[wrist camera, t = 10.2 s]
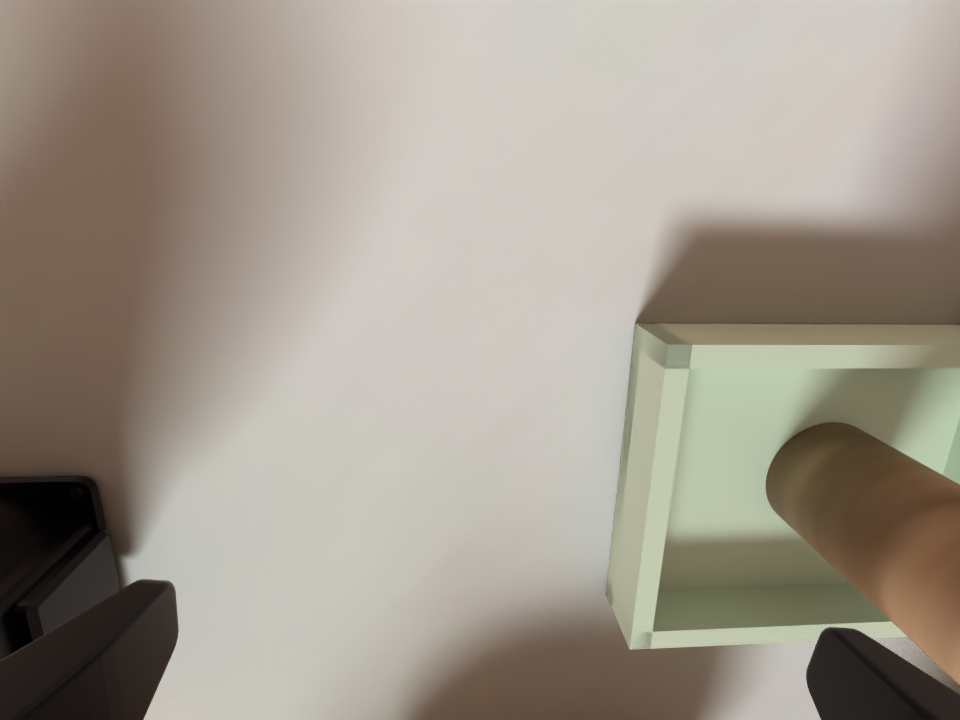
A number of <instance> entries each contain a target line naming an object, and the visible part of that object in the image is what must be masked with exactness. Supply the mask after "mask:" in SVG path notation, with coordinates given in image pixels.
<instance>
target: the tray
mask: <svg viewBox="0 0 960 720" xmlns="http://www.w3.org/2000/svg"><path fill="white" fill-rule="evenodd" d="M829 422H839V423H845V424H850V425H852V426H855V427H857V428H859V429H860V430H862V431H864V432H866V433H868V434H869V435H871V436H873V437H875V438H877V439H878V440H880V441H882V442H884V443H886V444H888V445H889V446H891V447H893V448H895V449H897V450H898V451H900V452H902V453H904V454H906V455H907V456H909V457H911V458H913V459H915V460H916V461H918V462H920V463H922V464H924V465H925V466H927V467H929V468H931V469H933V470H934V471H936V472H938V473H940V474H942V475H943V476H945V477H947V478H949V479H951V480H952V481H954V482H956V483H958V484H960V325H906V324H668V323H635V329H634V338H633V348H632V357H631V366H630V376H629V385H628V394H627V404H626V413H625V423H624V432H623V441H622V451H621V460H620V469H619V479H618V488H617V497H616V507H615V516H614V525H613V535H612V544H611V553H610V563H609V572H608V581H607V591H606V595H607V598H608V600H609V603H610V605H611V607H612V610H613V612H614V614H615V617H616V619H617V621H618V624H619V626H620V628H621V631H622V633H623V635H624V638H625V640H626V642H627V645H628V647H629V649H630V650H635V649H657V648H679V647H701V646H723V645H744V644H766V643H788V642H810V641H818V638H819V636H820V634H821V632H822V631H823V630H824V629H825V628H828V627H840V628H852V629H856V630H859V631H861V632H862V633H864V634H865V635H867V636H869V637H870V638H872V639H876V638H898V637H907V636H906V635H905V634H904V633H903V632H902V631H901V630H900V629H899V628H898V627H897V626H896V625H895V624H894V623H893V622H891V621H890V620H889V619H888V618H887V617H886V616H885V615H884V614H883V613H882V612H881V611H880V610H879V609H878V608H877V607H876V606H874V605H873V604H872V603H871V602H870V601H869V600H868V599H867V598H866V597H865V596H864V595H863V594H862V593H861V592H860V591H858V590H857V589H856V588H855V587H854V586H853V585H852V584H851V583H850V582H849V581H848V580H847V579H846V578H845V577H844V576H842V575H841V574H840V573H839V572H838V571H837V570H836V569H835V568H834V567H833V566H832V565H831V564H830V563H829V562H828V561H826V560H825V559H824V558H823V557H822V556H821V555H820V554H819V553H818V552H817V551H816V550H815V549H814V548H813V547H812V546H810V545H809V544H808V543H807V542H806V541H805V540H804V539H803V538H802V537H801V536H800V535H799V534H798V533H797V532H796V531H794V530H793V529H792V528H791V527H790V526H789V525H788V524H787V523H786V522H785V521H784V520H783V519H782V518H781V517H780V516H779V515H778V514H777V513H776V512H775V511H774V510H773V509H772V507H771V506H770V503H769V501H768V498H767V495H766V477H767V472H768V469H769V466H770V464H771V462H772V460H773V458H774V457H775V455H776V454H777V452H778V451H779V450H780V448H781V447H782V446H783V445H784V444H785V443H786V442H787V441H788V440H790V439H791V438H792V437H793V436H795V435H796V434H798V433H799V432H801V431H803V430H805V429H807V428H809V427H812V426H815V425H818V424H822V423H829Z"/></svg>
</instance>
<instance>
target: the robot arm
mask: <svg viewBox="0 0 960 720" xmlns="http://www.w3.org/2000/svg"><path fill="white" fill-rule="evenodd" d="M76 488H80V489H81V490H83V492H84V494H81V493H79V492H78V491H77V489H76ZM119 589H120V584H119V579H118V574H117V569H116V564H115V559H114V554H113V549H112V544H111V539H110V535H109V534H108V532H107V531H106V526H105V521H104V516H103V511H102V506H101V501H100V496H99V491H98V487H97V485H96V483H95V482H94V481H93V480H92V479H90V478H88V477H84V476H52V477H0V720H143V719H144V717H145V715H146V713H147V710H148V708H149V706H150V703H151V701H152V699H153V697H154V694H155V692H156V690H157V688H158V685H159V683H160V681H161V678H162V676H163V674H164V672H165V669H166V667H167V665H168V663H169V660H170V658H171V656H172V653H173V651H174V649H175V646H176V642H177V638H178V617H177V604H176V592H175V587H174V585H173V584H172V583H171V582H169V581H164V580H150V579H142V580H138V581H136V582H134V583H132V584H130V585H128V586H127V587H125V588H123V589H121V590H120V591H119ZM806 678H807V685H808V689H809V692H810V694H811V697H812V699H813V701H814V704H815V706H816V708H817V711H818V713H819V716H820V718H821V720H960V695H959V694H958V693H956V692H955V691H953V690H951V689H950V688H948V687H947V686H945V685H944V684H942V683H940V682H939V681H937V680H936V679H934V678H933V677H931V676H930V675H928V674H926V673H925V672H923V671H922V670H920V669H919V668H917V667H915V666H914V665H912V664H911V663H909V662H908V661H906V660H905V659H903V658H901V657H900V656H898V655H897V654H895V653H894V652H892V651H890V650H889V649H887V648H886V647H884V646H883V645H881V644H880V643H878V642H876V641H875V640H873V639H872V638H870V637H869V636H867V635H865V634H864V633H862V632H861V631H859V630H856V629H852V628H840V627H828V628H825V629H824V630H823V631H822V632H821V634H820V636H819V638H818V641H817V644H816V646H815V649H814V652H813V654H812V657H811V660H810V662H809V665H808V668H807V673H806Z"/></svg>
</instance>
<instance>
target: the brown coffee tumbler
mask: <svg viewBox="0 0 960 720" xmlns="http://www.w3.org/2000/svg"><path fill="white" fill-rule="evenodd" d="M766 495H767V498H768V501H769V503H770V506H771V507H772V509H773V510H774V511H775V512H776V513H777V514H778V515H779V516H780V517H781V518H782V519H783V520H784V521H785V522H786V523H787V524H788V525H789V526H790V527H791V528H792V529H793V530H794V531H796V532H797V533H798V534H799V535H800V536H801V537H802V538H803V539H804V540H805V541H806V542H807V543H808V544H809V545H810V546H812V547H813V548H814V549H815V550H816V551H817V552H818V553H819V554H820V555H821V556H822V557H823V558H824V559H825V560H826V561H828V562H829V563H830V564H831V565H832V566H833V567H834V568H835V569H836V570H837V571H838V572H839V573H840V574H841V575H842V576H844V577H845V578H846V579H847V580H848V581H849V582H850V583H851V584H852V585H853V586H854V587H855V588H856V589H857V590H858V591H860V592H861V593H862V594H863V595H864V596H865V597H866V598H867V599H868V600H869V601H870V602H871V603H872V604H873V605H874V606H876V607H877V608H878V609H879V610H880V611H881V612H882V613H883V614H884V615H885V616H886V617H887V618H888V619H889V620H890V621H891V622H893V623H894V624H895V625H896V626H897V627H898V628H899V629H900V630H901V631H902V632H903V633H904V634H905V635H906V636H907V637H909V638H910V639H911V640H912V641H913V642H914V643H915V644H916V645H917V646H918V647H919V648H920V649H921V650H922V651H923V652H925V653H926V654H927V655H928V656H929V657H930V658H931V659H932V660H933V661H934V662H935V663H936V664H937V665H938V666H939V667H941V668H942V669H943V670H944V671H945V672H946V673H947V674H948V675H949V676H950V677H951V678H952V679H953V680H954V681H955V682H957V683H958V684H959V685H960V484H958V483H956V482H954V481H952V480H951V479H949V478H947V477H945V476H943V475H942V474H940V473H938V472H936V471H934V470H933V469H931V468H929V467H927V466H925V465H924V464H922V463H920V462H918V461H916V460H915V459H913V458H911V457H909V456H907V455H906V454H904V453H902V452H900V451H898V450H897V449H895V448H893V447H891V446H889V445H888V444H886V443H884V442H882V441H880V440H878V439H877V438H875V437H873V436H871V435H869V434H868V433H866V432H864V431H862V430H860V429H859V428H857V427H855V426H852V425H850V424H845V423H839V422H829V423H822V424H818V425H815V426H812V427H809V428H807V429H805V430H803V431H801V432H799V433H798V434H796V435H795V436H793V437H792V438H791V439H790V440H788V441H787V442H786V443H785V444H784V445H783V446H782V447H781V448H780V450H779V451H778V452H777V454H776V455H775V457H774V458H773V460H772V462H771V464H770V466H769V469H768V472H767V477H766Z"/></svg>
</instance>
